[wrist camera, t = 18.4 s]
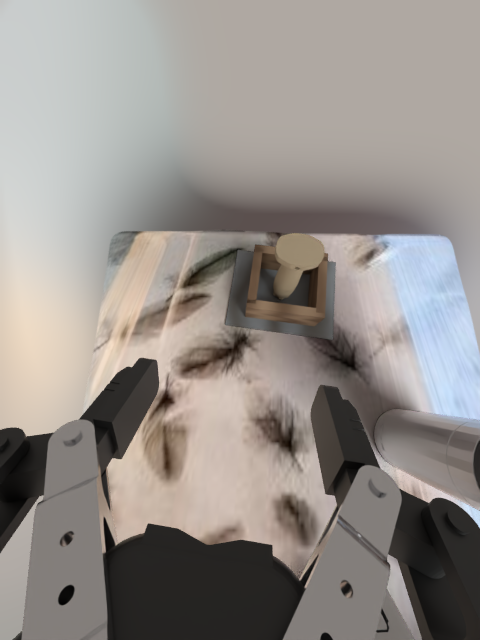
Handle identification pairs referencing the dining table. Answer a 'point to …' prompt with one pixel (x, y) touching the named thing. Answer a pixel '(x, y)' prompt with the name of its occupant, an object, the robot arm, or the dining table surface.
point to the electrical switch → (391, 622)
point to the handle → (295, 261)
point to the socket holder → (289, 313)
